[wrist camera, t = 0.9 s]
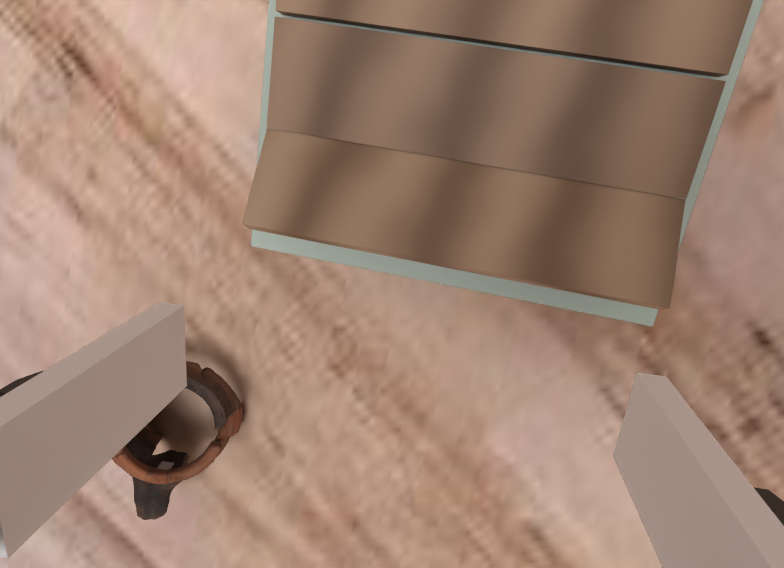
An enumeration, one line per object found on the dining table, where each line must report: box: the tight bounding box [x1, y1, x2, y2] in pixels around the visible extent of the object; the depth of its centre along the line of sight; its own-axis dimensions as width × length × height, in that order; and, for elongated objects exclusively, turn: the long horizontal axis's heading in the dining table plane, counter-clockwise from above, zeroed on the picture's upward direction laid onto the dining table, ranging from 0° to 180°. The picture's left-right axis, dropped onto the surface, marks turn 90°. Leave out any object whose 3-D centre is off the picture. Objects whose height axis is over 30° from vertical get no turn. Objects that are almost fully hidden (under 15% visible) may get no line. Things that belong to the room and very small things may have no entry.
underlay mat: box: [251, 0, 764, 327], centre depth 29 cm, size 26×20×1 cm
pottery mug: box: [112, 361, 243, 520], centre depth 37 cm, size 12×10×8 cm
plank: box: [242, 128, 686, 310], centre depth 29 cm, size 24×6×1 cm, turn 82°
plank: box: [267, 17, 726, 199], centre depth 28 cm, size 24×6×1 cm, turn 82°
